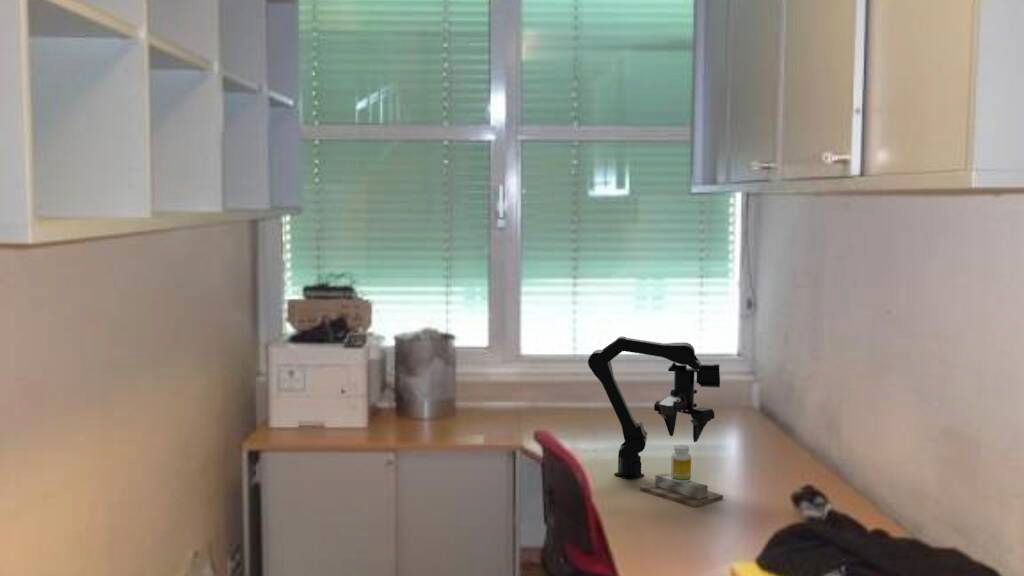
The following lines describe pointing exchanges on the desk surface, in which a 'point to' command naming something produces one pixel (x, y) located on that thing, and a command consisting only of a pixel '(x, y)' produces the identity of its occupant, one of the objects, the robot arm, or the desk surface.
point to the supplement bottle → (681, 464)
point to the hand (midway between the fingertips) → (683, 438)
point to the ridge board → (680, 496)
